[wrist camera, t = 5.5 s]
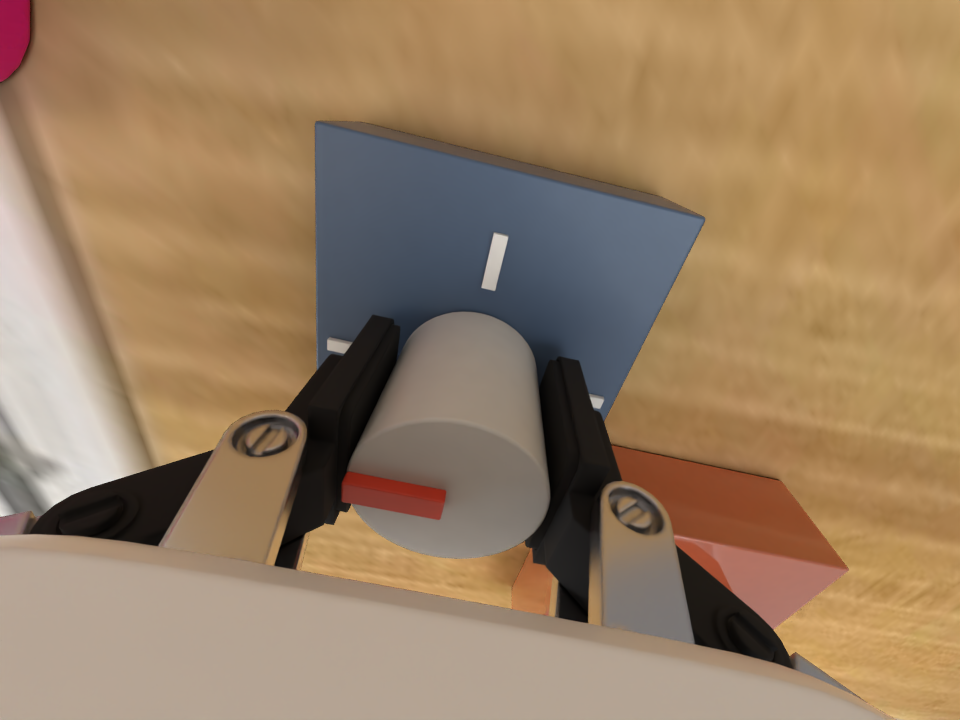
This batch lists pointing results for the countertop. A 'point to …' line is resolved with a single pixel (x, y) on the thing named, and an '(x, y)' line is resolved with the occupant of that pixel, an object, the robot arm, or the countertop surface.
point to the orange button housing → (722, 536)
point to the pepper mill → (13, 34)
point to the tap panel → (489, 249)
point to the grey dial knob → (455, 443)
